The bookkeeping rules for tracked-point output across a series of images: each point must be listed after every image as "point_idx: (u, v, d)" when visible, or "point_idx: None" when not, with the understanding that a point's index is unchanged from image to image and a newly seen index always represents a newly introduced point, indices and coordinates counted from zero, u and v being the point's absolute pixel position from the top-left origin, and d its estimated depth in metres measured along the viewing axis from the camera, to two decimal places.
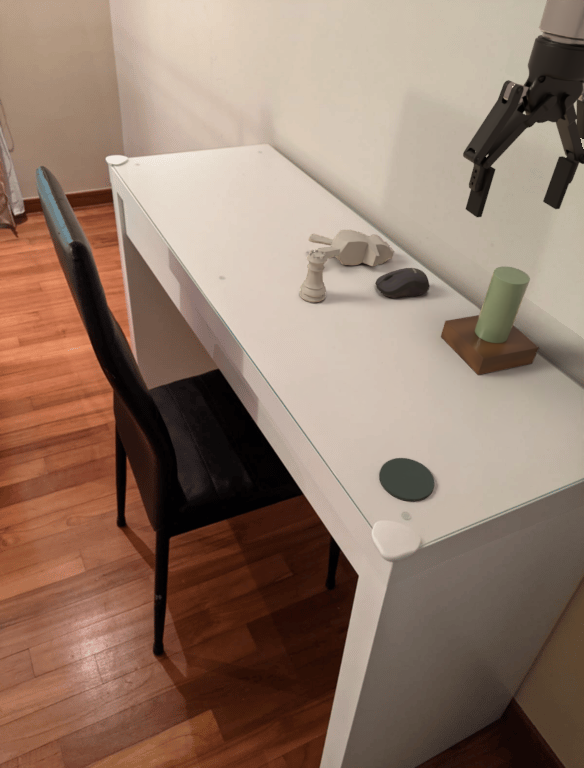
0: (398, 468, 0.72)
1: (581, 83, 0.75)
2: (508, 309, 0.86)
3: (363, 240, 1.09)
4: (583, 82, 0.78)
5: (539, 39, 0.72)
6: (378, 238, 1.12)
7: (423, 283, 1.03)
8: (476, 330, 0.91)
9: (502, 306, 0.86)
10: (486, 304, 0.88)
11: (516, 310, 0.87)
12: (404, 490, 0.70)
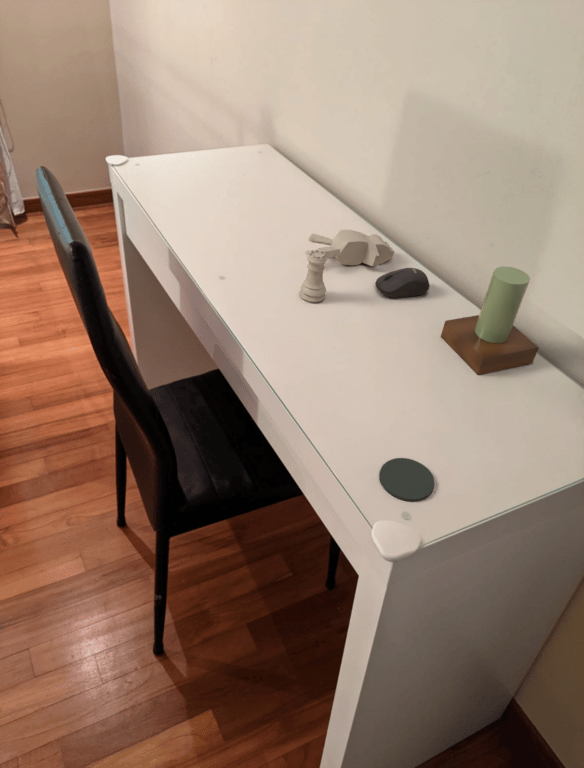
0: (398, 468, 0.72)
1: None
2: (508, 309, 0.86)
3: (363, 239, 1.09)
4: None
5: None
6: (378, 238, 1.12)
7: (423, 283, 1.03)
8: (476, 330, 0.91)
9: (502, 306, 0.86)
10: (486, 304, 0.88)
11: (516, 310, 0.87)
12: (404, 490, 0.70)
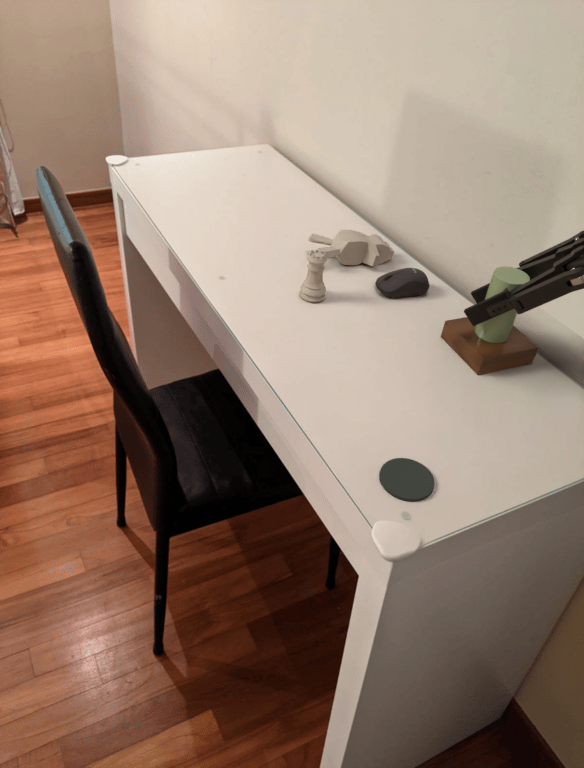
0: (398, 468, 0.72)
1: None
2: None
3: (363, 239, 1.09)
4: None
5: None
6: (378, 238, 1.12)
7: (423, 283, 1.03)
8: (476, 330, 0.91)
9: None
10: None
11: None
12: (404, 490, 0.70)
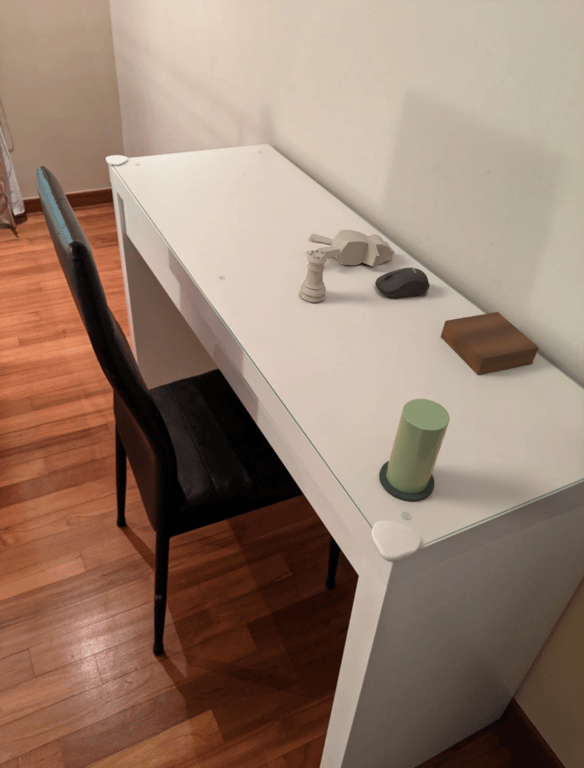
0: None
1: None
2: (422, 457, 0.65)
3: (363, 240, 1.09)
4: None
5: None
6: (378, 238, 1.12)
7: (423, 282, 1.03)
8: (387, 473, 0.71)
9: (414, 453, 0.65)
10: (396, 447, 0.67)
11: (434, 457, 0.66)
12: None
